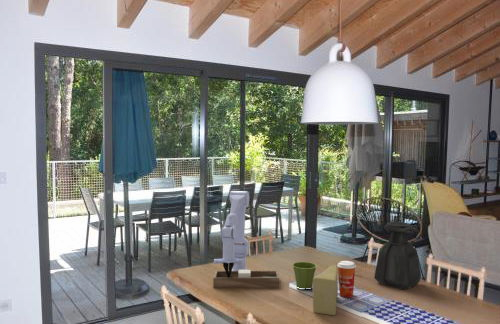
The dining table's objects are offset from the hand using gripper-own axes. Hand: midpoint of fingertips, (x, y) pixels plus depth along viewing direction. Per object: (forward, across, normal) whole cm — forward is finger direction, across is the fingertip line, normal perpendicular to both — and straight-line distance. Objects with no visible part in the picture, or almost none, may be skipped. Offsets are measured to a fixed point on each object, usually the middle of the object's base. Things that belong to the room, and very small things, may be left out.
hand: (228, 277), depth 212 cm
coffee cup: (+3, +55, -17) cm, 58 cm away
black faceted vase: (+3, +84, -1) cm, 84 cm away
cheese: (+3, +45, -28) cm, 53 cm away
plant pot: (+3, +37, -7) cm, 38 cm away
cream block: (+1, +8, 0) cm, 8 cm away
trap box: (+3, +9, 0) cm, 9 cm away
